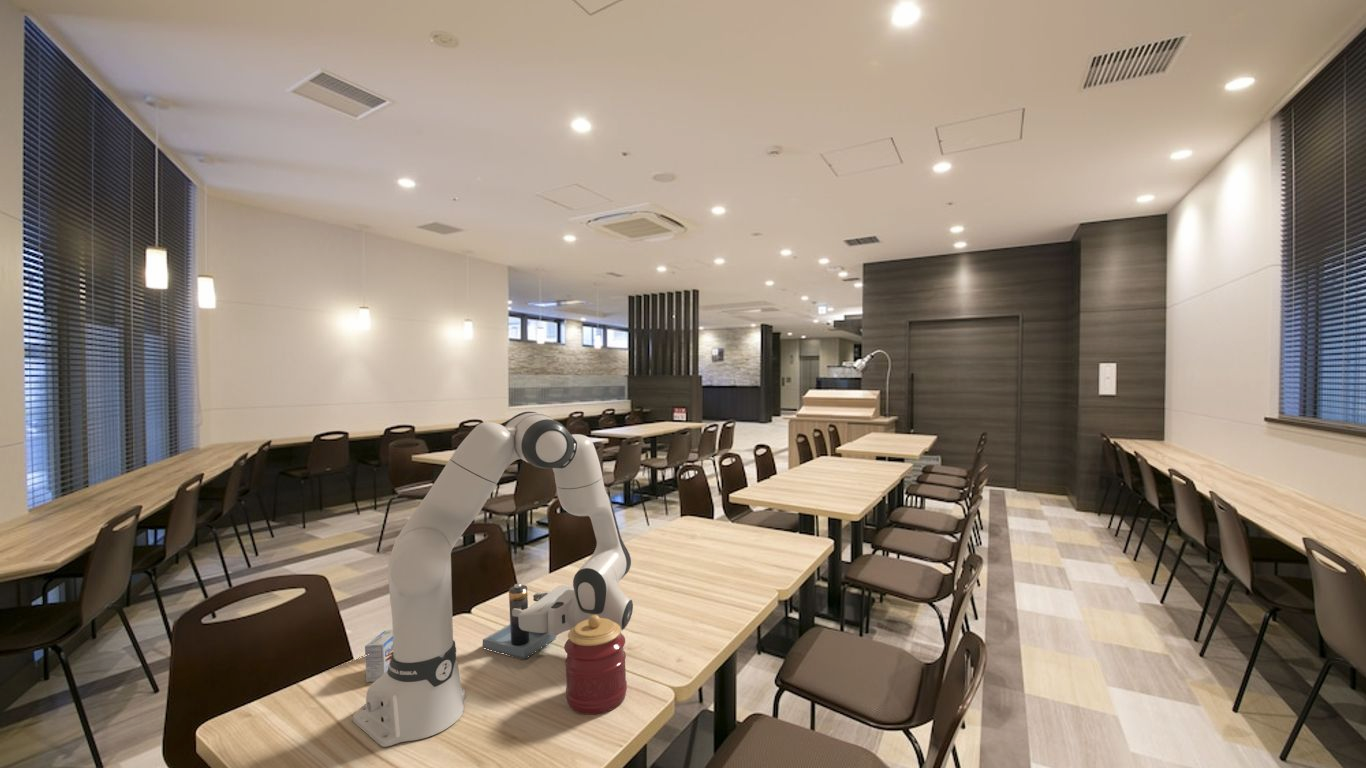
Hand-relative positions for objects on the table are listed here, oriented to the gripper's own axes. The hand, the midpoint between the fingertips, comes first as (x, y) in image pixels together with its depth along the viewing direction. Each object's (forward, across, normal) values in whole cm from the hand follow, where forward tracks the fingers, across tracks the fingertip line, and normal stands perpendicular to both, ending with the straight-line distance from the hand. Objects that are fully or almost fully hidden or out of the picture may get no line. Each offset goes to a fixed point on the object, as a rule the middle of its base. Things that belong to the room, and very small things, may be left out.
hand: (524, 603), depth 139 cm
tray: (+2, 0, +11) cm, 11 cm away
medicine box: (+25, +21, +11) cm, 34 cm away
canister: (-29, +17, +11) cm, 35 cm away
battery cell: (+2, 0, +10) cm, 10 cm away
